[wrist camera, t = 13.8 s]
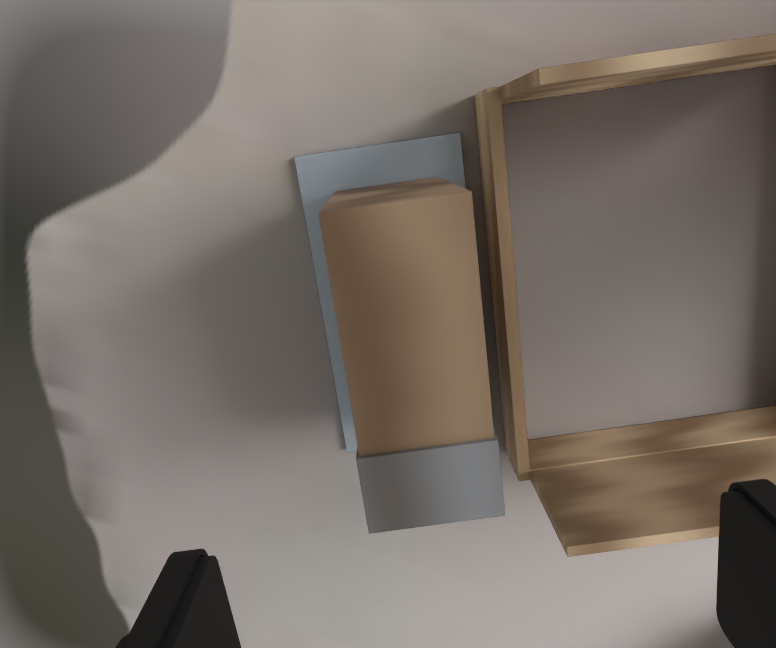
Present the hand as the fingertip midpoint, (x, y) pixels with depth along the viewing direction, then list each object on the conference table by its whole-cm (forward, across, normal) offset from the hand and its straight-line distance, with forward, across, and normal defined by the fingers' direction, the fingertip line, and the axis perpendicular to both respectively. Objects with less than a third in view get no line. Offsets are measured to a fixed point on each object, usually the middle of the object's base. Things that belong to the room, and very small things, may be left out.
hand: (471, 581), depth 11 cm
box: (+20, +1, 0) cm, 20 cm away
